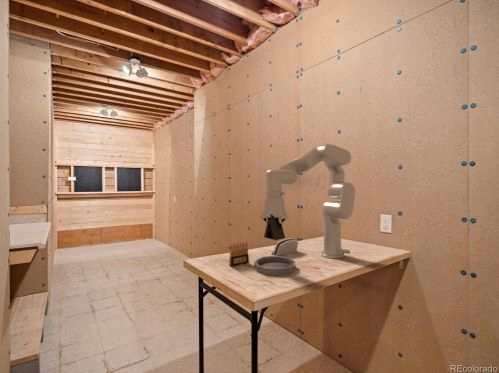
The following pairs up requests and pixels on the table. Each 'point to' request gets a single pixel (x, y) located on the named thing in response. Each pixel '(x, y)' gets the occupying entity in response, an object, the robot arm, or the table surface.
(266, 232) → the phone stand
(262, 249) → the table surface
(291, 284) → the table surface
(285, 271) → the round tray
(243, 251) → the ammunition clip
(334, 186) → the robot arm
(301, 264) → the table surface
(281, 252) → the white electronic device
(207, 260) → the table surface
